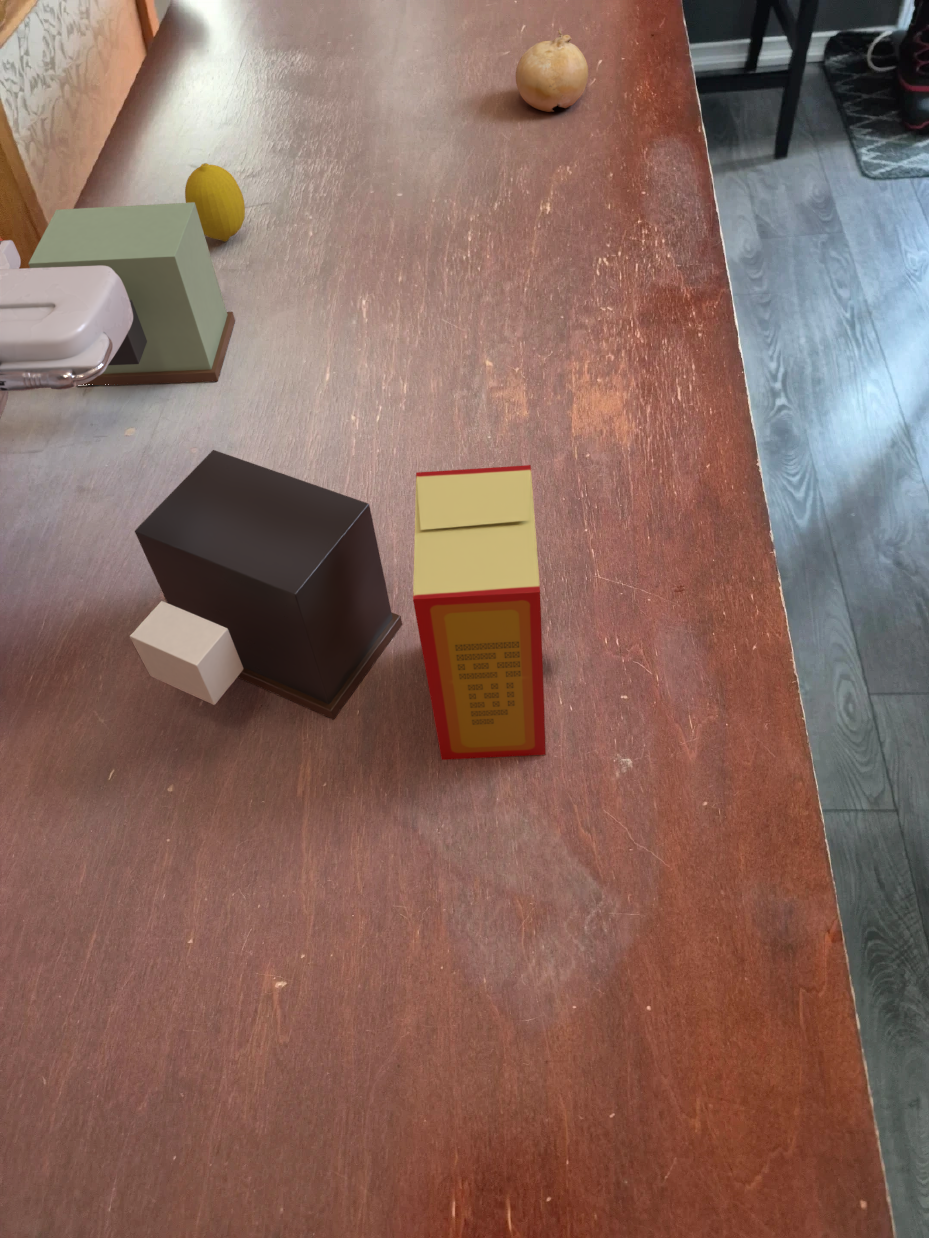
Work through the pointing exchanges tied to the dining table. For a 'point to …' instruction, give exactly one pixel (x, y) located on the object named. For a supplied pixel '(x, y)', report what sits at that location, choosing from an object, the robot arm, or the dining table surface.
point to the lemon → (216, 201)
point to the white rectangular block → (187, 652)
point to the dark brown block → (131, 344)
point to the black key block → (276, 576)
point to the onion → (552, 74)
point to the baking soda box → (480, 610)
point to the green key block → (151, 284)
